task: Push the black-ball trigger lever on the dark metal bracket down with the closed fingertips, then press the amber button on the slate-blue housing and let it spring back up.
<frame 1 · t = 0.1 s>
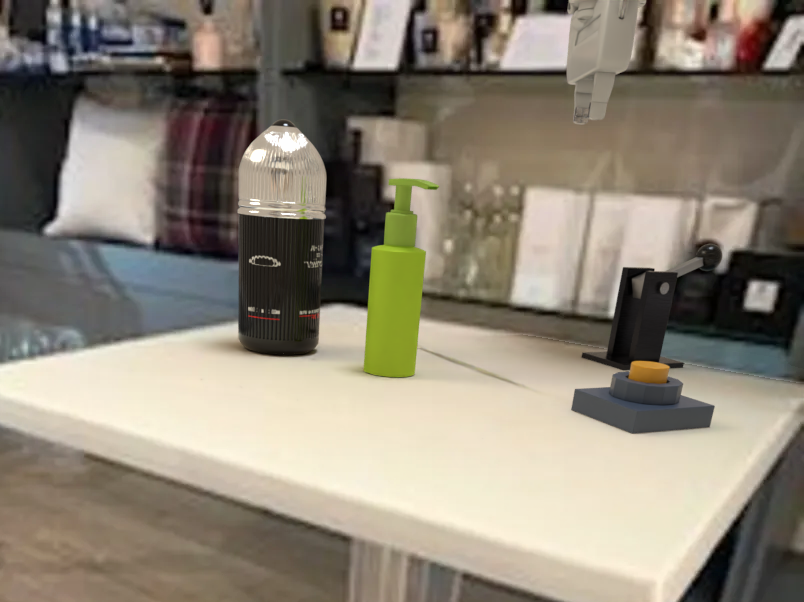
hand: (587, 122, 107), 28 cm above the table, tool pointing down, fingers open, 8 cm apart
spray bottle: (278, 350, 108), on the table
button housing: (639, 419, 87), on the table
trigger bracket: (630, 366, 113), on the table
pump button: (648, 373, 85), point 4 cm above the table, slide at 0.1 cm
soap dispenser: (392, 374, 100), on the table
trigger: (678, 270, 109), point 12 cm above the table, hinge at 20.0°
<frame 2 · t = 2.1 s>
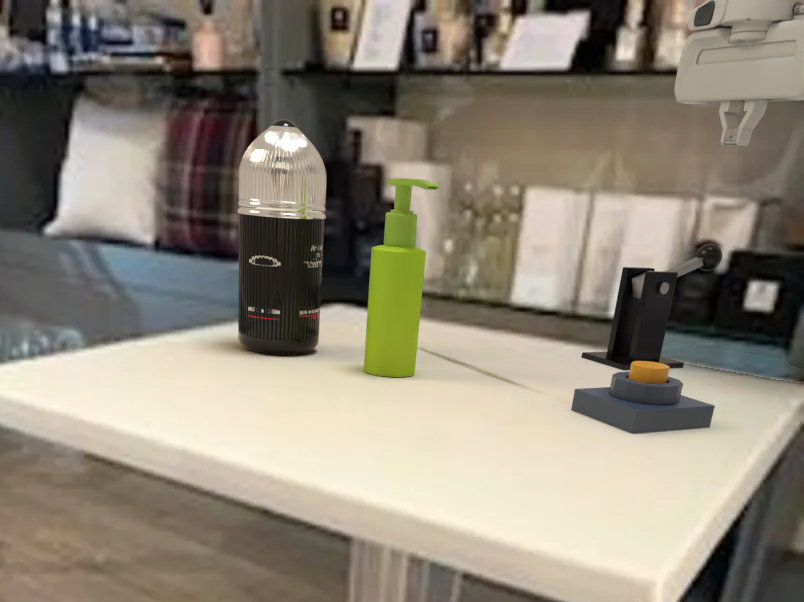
hand: (734, 145, 105), 26 cm above the table, tool pointing down, fingers closed
nothing on the table moved.
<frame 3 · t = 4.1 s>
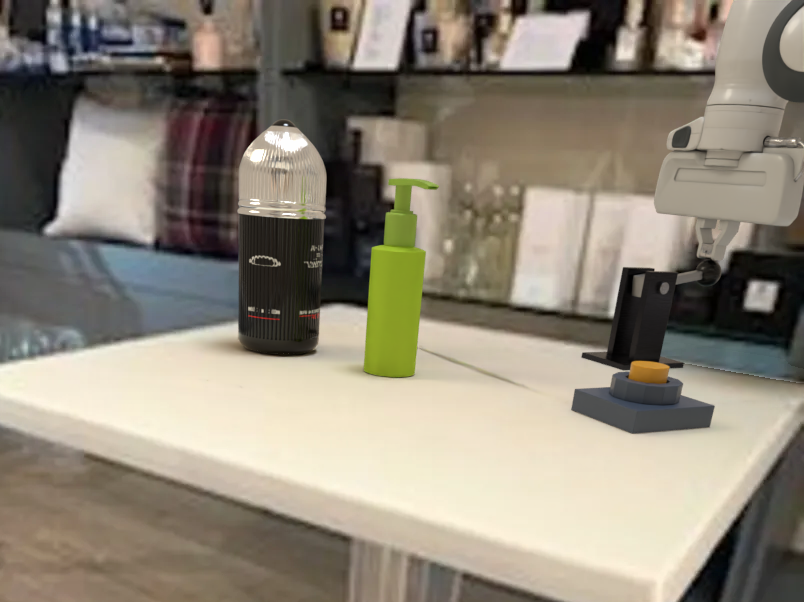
hand: (709, 259, 111), 13 cm above the table, tool pointing down, fingers closed
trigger: (678, 278, 110), point 11 cm above the table, hinge at 8.8°, touching gripper
everything else where it was.
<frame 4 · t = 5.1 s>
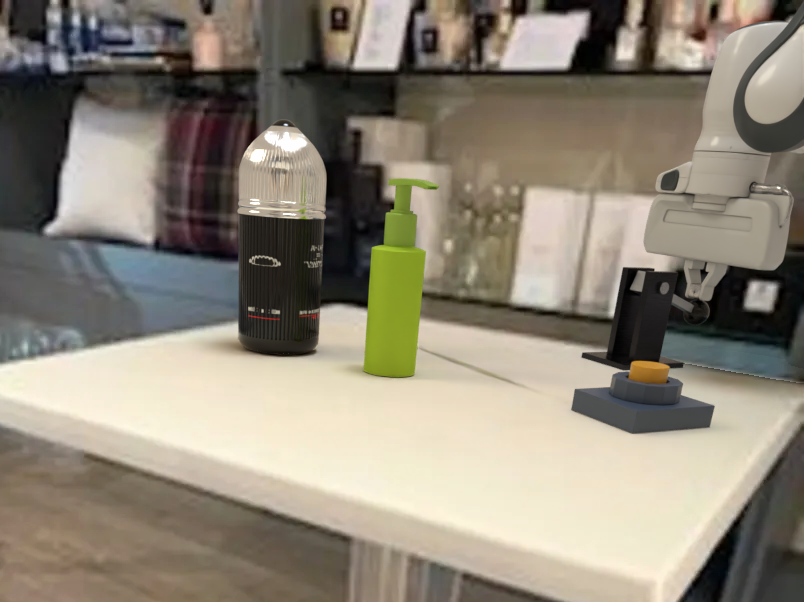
hand: (697, 299, 113), 8 cm above the table, tool pointing down, fingers closed, pressing on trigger
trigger: (672, 299, 111), point 8 cm above the table, hinge at -19.4°, touching gripper
everything else where it was.
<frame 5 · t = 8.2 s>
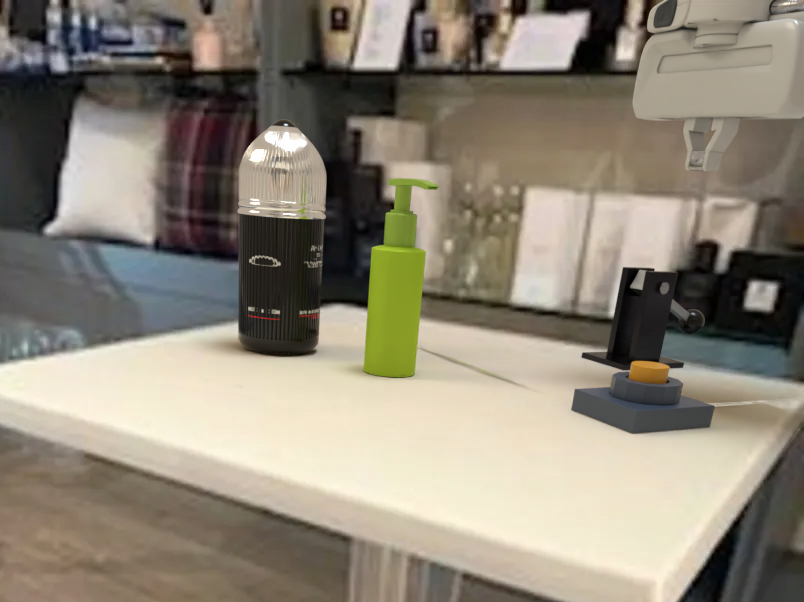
hand: (700, 171, 87), 23 cm above the table, tool pointing down, fingers closed
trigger: (670, 304, 111), point 8 cm above the table, hinge at -26.8°
everything else where it was.
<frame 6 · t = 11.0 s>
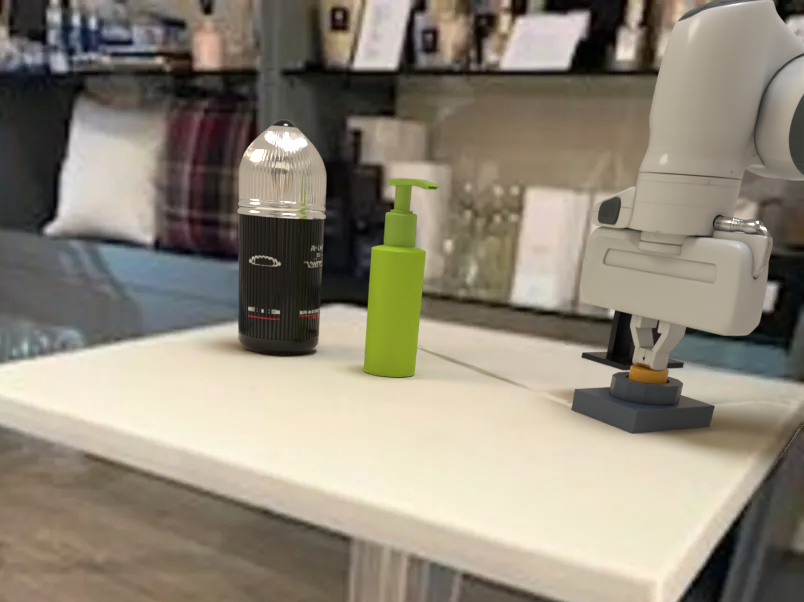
hand: (648, 367, 85), 5 cm above the table, tool pointing down, fingers closed, pressing on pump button
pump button: (647, 377, 85), point 4 cm above the table, slide at -0.2 cm, touching gripper
everything else where it was.
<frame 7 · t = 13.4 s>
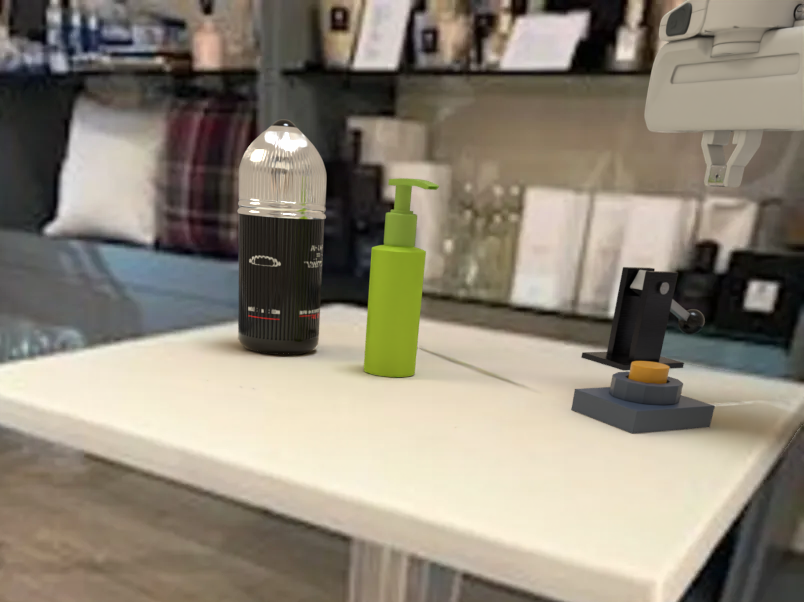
hand: (721, 186, 82), 21 cm above the table, tool pointing down, fingers closed
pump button: (648, 373, 85), point 4 cm above the table, slide at 0.1 cm
everything else where it was.
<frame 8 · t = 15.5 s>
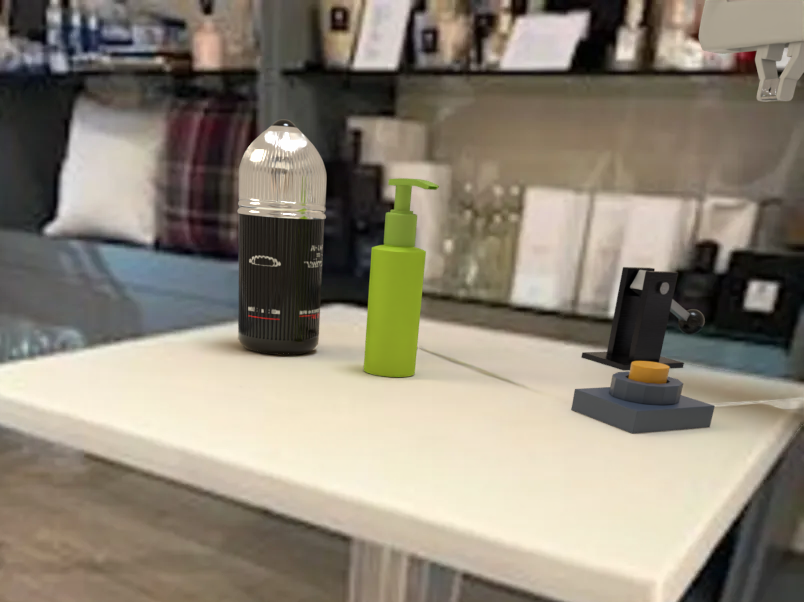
hand: (773, 100, 85), 29 cm above the table, tool pointing down, fingers closed
nothing on the table moved.
at the end: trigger at -27° (first picture: +20°); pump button pushed in 1.0 cm at the most during the clip, back to where it started at the end; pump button slide at 0.1 cm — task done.
